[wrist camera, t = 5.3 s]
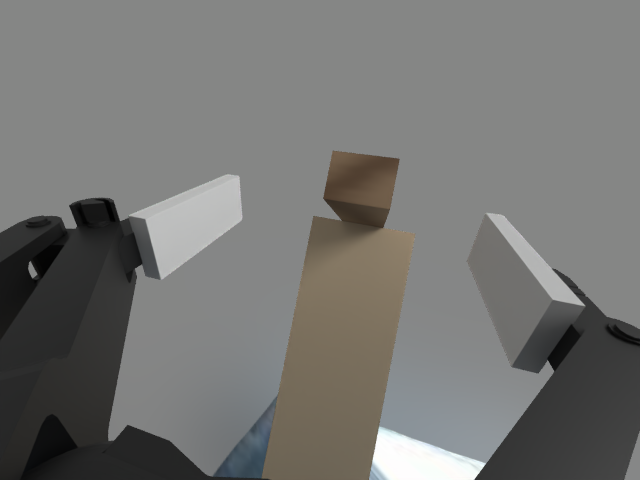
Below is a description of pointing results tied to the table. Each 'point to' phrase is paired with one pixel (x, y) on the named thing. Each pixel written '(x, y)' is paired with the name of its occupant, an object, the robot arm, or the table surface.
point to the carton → (339, 352)
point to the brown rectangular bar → (361, 187)
